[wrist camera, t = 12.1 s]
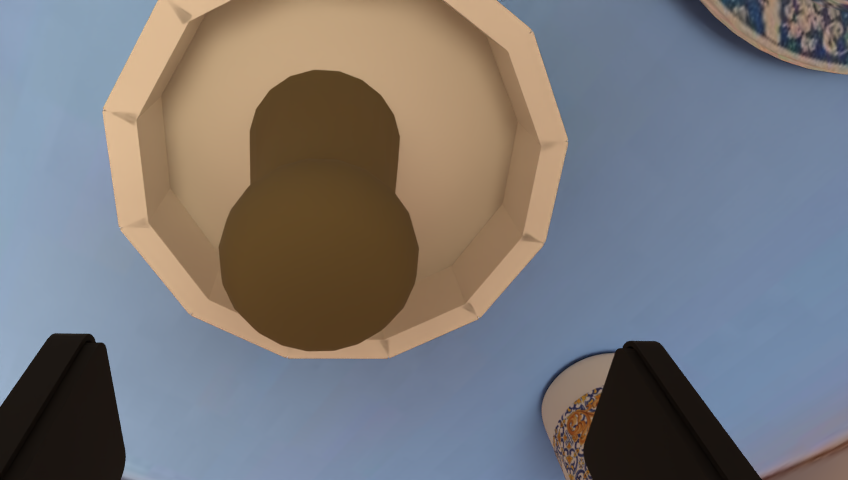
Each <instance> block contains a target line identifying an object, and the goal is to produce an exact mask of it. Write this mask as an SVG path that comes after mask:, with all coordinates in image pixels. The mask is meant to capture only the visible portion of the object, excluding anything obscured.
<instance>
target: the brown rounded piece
mask: <svg viewBox="0 0 848 480" xmlns="http://www.w3.org/2000/svg"><path fill="white" fill-rule="evenodd" d="M399 144H400V135H399V131H398V127H397V124H396V120H395V116H394V114H393V112H392V111H391V109H390V108H389V106H388V105H387V103H386V102H385V100H384V99H383V97H382V96H381V95H380V94H379V93H378V92H377V91H375V90H374V89H373V88H372V87H370V86H369V85H368V84H367V83H365V82H364V81H363V80H361V79H359V78H356V77H353V76H351V75H348V74H345V73H343V72H340V71H330V70H311V71H307V72H303V73H300V74H296V75H292V76H289V77H288V78H287V79H285V80H284V81H282V82H281V83H279V84H278V85H276V86H275V87H273V88H272V89H270V90H269V92H268V93H267V94H266V96H265V97H264V99H263V100H262V101H261V103H260V104H259V105H258V107H257V108H256V111H255V114H254V117H253V121H252V124H251V128H250V186H248V188H247V189H246V190H245V192H244V193H243V194H242V196H241V197H240V198H239V199H238V201H237V202H236V203H235V205H234V206H233V207H232V209H231V210H230V212H229V215H228V217H227V220H226V223H225V226H224V230H223V233H222V237H221V240H220V244H219V258H220V269H221V278H222V284H223V287H224V289H225V291H226V293H227V295H228V297H229V299H230V301H231V303H232V305H233V307H234V309H235V310H236V311H237V312H238V313H239V314H240V315H241V316H242V317H243V318H244V319H245V320H246V321H247V322H248V323H249V324H250V325H251V326H252V327H253V328H254V329H255V330H256V331H257V332H258V333H260V334H261V335H263V336H265V337H267V338H269V339H271V340H273V341H274V342H276V343H278V344H280V345H282V346H286V347H290V348H295V349H299V350H303V351H335V350H339V349H343V348H346V347H350V346H354V345H357V344H360V343H361V342H363V341H365V340H366V339H368V338H370V337H372V336H373V335H375V334H377V333H378V332H380V331H381V330H383V329H384V328H385V327H386V326H387V325H388V324H389V323H390V322H391V321H392V320H393V319H394V318H395V317H396V315H397V314H398V313H399V312H400V311H401V310H402V309H403V308H404V306H405V304H406V302H407V300H408V298H409V295H410V293H411V291H412V289H413V287H414V285H415V280H416V276H417V267H418V255H419V246H418V243H417V239H416V235H415V232H414V228H413V225H412V221H411V218H410V214H409V212H408V211H407V209H406V208H405V206H404V205H403V204H402V202H401V201H400V199H399V198H398V197H397V195H396V194H395V191H396V180H397V170H398V159H399Z"/></svg>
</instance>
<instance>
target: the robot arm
mask: <svg viewBox="0 0 848 480" xmlns="http://www.w3.org/2000/svg"><path fill="white" fill-rule="evenodd" d="M583 455H584V460H585V463H586V466H587V468H588V471H589V473H590V475H591V477H592V480H762V479H761V478H760V477H759V475H758V474H757V473H756V471H755V470H754V469H753V467H752V466H751V464H750V463H749V462H748V460H747V459H746V458H745V456H744V455H743V454H742V452H741V451H740V450H739V448H738V447H737V446H736V444H735V443H734V442H733V440H732V439H731V438H730V436H729V435H728V434H727V432H726V431H725V429H724V428H723V427H722V425H721V424H720V423H719V421H718V420H717V419H716V417H715V416H714V415H713V413H712V412H711V411H710V409H709V408H708V407H707V405H706V404H705V403H704V401H703V400H702V398H701V397H700V396H699V394H698V393H697V392H696V390H695V389H694V388H693V386H692V385H691V384H690V382H689V381H688V380H687V378H686V377H685V376H684V374H683V373H682V372H681V370H680V369H679V368H678V366H677V365H676V363H675V362H674V361H673V359H672V358H671V357H670V355H669V354H668V353H667V351H666V350H665V349H664V347H663V346H662V345H661V344H660V343H659V342H656V341H628V342H626V343H625V344H624V346H623V348H620V349H617V350H616V352H615V354H614V357H613V360H612V363H611V366H610V369H609V372H608V375H607V378H606V381H605V384H604V386H603V389H602V392H601V395H600V398H599V401H598V404H597V407H596V410H595V413H594V416H593V419H592V422H591V425H590V428H589V431H588V434H587V437H586V440H585V442H584V447H583ZM125 458H126V454H125V447H124V442H123V436H122V431H121V425H120V420H119V414H118V409H117V404H116V398H115V393H114V387H113V382H112V377H111V371H110V366H109V360H108V355H107V349H106V346H105V344H104V343H96V342H95V339H94V337H93V336H92V335H91V334H58V333H55V334H52V335H51V336H50V337H49V338H48V339H47V340H46V342H45V343H44V345H43V346H42V348H41V349H40V351H39V352H38V353H37V355H36V356H35V358H34V359H33V361H32V362H31V363H30V365H29V366H28V368H27V369H26V371H25V372H24V373H23V375H22V376H21V378H20V379H19V381H18V382H17V384H16V385H15V386H14V388H13V389H12V391H11V392H10V394H9V395H8V396H7V398H6V399H5V401H4V402H3V404H2V405H1V407H0V480H121V477H122V474H123V471H124V467H125Z"/></svg>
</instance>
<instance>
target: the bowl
mask: <svg viewBox="0 0 848 480" xmlns="http://www.w3.org/2000/svg"><path fill="white" fill-rule="evenodd" d="M531 30H532V29H530V28H529V27H528V26H527V25H525V24H524V23H523V22H522V21H521V20H519V19H518V18H517V17H516V16H515V15H513V14H512V13H511V12H510V11H509V10H507V9H506V8H505V7H504V6H503V5H501V4H500V3H499V2H498V1H497V0H158V2H157V4H156V5H155V7H154V9H153V11H152V13H151V15H150V17H149V19H148V21H147V23H146V25H145V27H144V29H143V31H142V33H141V35H140V37H139V39H138V41H137V43H136V45H135V47H134V49H133V51H132V53H131V54H130V56H129V58H128V60H127V62H126V64H125V66H124V68H123V70H122V72H121V74H120V76H119V78H118V80H117V82H116V84H115V86H114V88H113V90H112V92H111V94H110V96H109V98H108V100H107V102H106V103H105V105H104V107H103V109H104V110H103V118H104V125H105V132H106V139H107V146H108V153H109V160H110V167H111V174H112V181H113V188H114V195H115V202H116V209H117V216H118V223H119V227H121V228H120V230H121V231H122V232H123V234H124V235H125V236H126V237H127V238H128V240H129V241H130V242H131V243H132V245H133V246H134V247H135V248H136V249H137V251H138V252H139V253H140V254H141V256H142V257H143V258H144V259H145V261H146V262H147V263H148V264H149V265H150V267H151V268H152V269H153V270H154V272H155V273H156V274H157V275H158V276H159V278H160V279H161V280H162V281H163V283H164V284H165V285H166V286H167V287H168V289H169V290H170V291H171V292H172V294H173V295H174V296H175V297H176V299H177V300H178V301H179V302H180V303H181V305H182V306H183V307H184V308H185V310H186V311H187V312H188V313H189V314H191V313H192V314H191V316H193V317H195V318H198V319H200V320H202V321H204V322H207V323H209V324H211V325H213V326H216V327H218V328H220V329H222V330H225V331H227V332H229V333H231V334H233V335H236V336H238V337H240V338H242V339H245V340H247V341H249V342H251V343H254V344H256V345H258V346H260V347H262V348H265V349H267V350H269V351H271V352H274V353H276V354H278V355H280V356H283V357H285V358H286V357H287V356H288V358H351V359H388V356H389V358H391V357H393V356H396V355H398V354H400V353H402V352H405V351H407V350H409V349H412V348H414V347H416V346H418V345H421V344H423V343H425V342H427V341H430V340H432V339H434V338H437V337H439V336H441V335H443V334H446V333H448V332H450V331H453V330H455V329H457V328H459V327H462V326H464V325H466V324H469V323H471V322H473V321H475V320H478V317H479V318H481V316H482V315H483V314H484V313H485V312H486V311H487V310H488V308H489V307H490V306H491V305H492V304H493V303H494V301H495V300H496V299H497V298H498V297H499V296H500V295H501V293H502V292H503V291H504V290H505V289H506V288H507V287H508V285H509V284H510V283H511V282H512V281H513V280H514V279H515V277H516V276H517V275H518V274H519V273H520V272H521V270H522V269H523V268H524V267H525V266H526V265H527V264H528V262H529V261H530V260H531V259H532V258H533V257H534V256H535V254H536V253H537V252H538V251H539V250H540V249H541V248H542V246H543V245H544V243H543V242H546V237H547V233H548V229H549V224H550V220H551V215H552V211H553V207H554V202H555V198H556V194H557V189H558V185H559V181H560V176H561V172H562V168H563V163H564V159H565V155H566V150H567V146H568V142H567V141H568V138H567V135H566V132H565V129H564V126H563V122H562V119H561V116H560V113H559V110H558V107H557V104H556V101H555V98H554V95H553V92H552V88H551V85H550V82H549V79H548V76H547V73H546V70H545V67H544V64H543V61H542V58H541V55H540V51H539V48H538V45H537V42H536V39H535V36H534V33H533V31H531ZM311 70H330V71H340V72H343V73H345V74H348V75H351V76H353V77H356V78H359V79H361V80H363V81H364V82H365V83H367V84H368V85H369V86H370V87H372V88H373V89H374V90H375V91H377V92H378V93H379V94H380V95H381V96H382V97H383V99H384V100H385V102H386V103H387V105H388V106H389V108H390V109H391V111H392V112H393V114H394V116H395V120H396V124H397V127H398V131H399V135H400V144H399V159H398V170H397V180H396V191H395V194H396V195H397V197H398V198H399V199H400V201H401V202H402V204H403V205H404V206H405V208H406V209H407V211H408V212H409V214H410V218H411V221H412V225H413V228H414V232H415V235H416V239H417V243H418V246H419V255H418V267H417V276H416V280H415V285H414V287H413V289H412V291H411V293H410V295H409V298H408V300H407V302H406V304H405V306H404V308H403V309H402V310H401V311H400V312H399V313H398V314H397V315H396V317H395V318H394V319H393V320H392V321H391V322H390V323H389V324H388V325H387V326H386V327H385V328H384V329H383V330H381V331H380V332H378V333H377V334H375V335H373V336H372V337H370V338H368V339H366V340H365V341H363V342H361V343H360V344H357V345H354V346H350V347H346V348H343V349H339V350H335V351H303V350H299V349H295V348H290V347H286V346H282V345H280V344H278V343H276V342H274V341H273V340H271V339H269V338H267V337H265V336H263V335H261V334H260V333H258V332H257V331H256V330H255V329H254V328H253V327H252V326H251V325H250V324H249V323H248V322H247V321H246V320H245V319H244V318H243V317H242V316H241V315H240V314H239V313H238V312H237V311H236V310H235V309H234V307H233V305H232V303H231V301H230V299H229V297H228V295H227V293H226V291H225V289H224V287H223V284H222V278H221V269H220V258H219V244H220V240H221V237H222V233H223V230H224V226H225V223H226V220H227V217H228V215H229V212H230V210H231V209H232V207H233V206H234V205H235V203H236V202H237V201H238V199H239V198H240V197H241V196H242V194H243V193H244V192H245V190H246V189H247V188H248V186H250V128H251V124H252V121H253V117H254V114H255V111H256V108H257V107H258V105H259V104H260V103H261V101H262V100H263V99H264V97H265V96H266V94H267V93H268V92H269V90H270V89H272V88H273V87H275V86H276V85H278V84H279V83H281V82H282V81H284V80H285V79H287V78H288V77H289V76H292V75H296V74H300V73H303V72H307V71H311Z"/></svg>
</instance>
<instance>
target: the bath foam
mask: <svg viewBox="0 0 848 480" xmlns="http://www.w3.org/2000/svg"><path fill="white" fill-rule="evenodd" d="M614 354H615V353H607V354H599V355H595V356H591V357H588V358H585V359H583V360H581V361H579V362H577V363H575V364H573V365H571V366H570V367H568V368H567V369H566V370H564V371H563V372H562V373H561V374H560V375H559V376H558V377H557V378H556V379H555V380H554V381H553V382H552V384H551V385H550V386H549V388H548V390H547V392H546V394H545V396H544V399H543V403H542V419H543V423H544V426H545V429H546V432H547V434H548V436H549V439H550V441H551V444H552V446H553V448H554V451H555V454H556V457H557V459H558V461H559V464H560V466H561V468H562V471H563V473H564V476H565V478H566V480H592V477H591V475H590V473H589V471H588V468H587V466H586V463H585V460H584V455H583V447H584V442H585V440H586V437H587V434H588V431H589V428H590V425H591V422H592V419H593V416H594V413H595V410H596V407H597V404H598V401H599V398H600V395H601V392H602V389H603V386H604V384H605V381H606V378H607V375H608V372H609V369H610V366H611V363H612V360H613V357H614Z"/></svg>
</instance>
